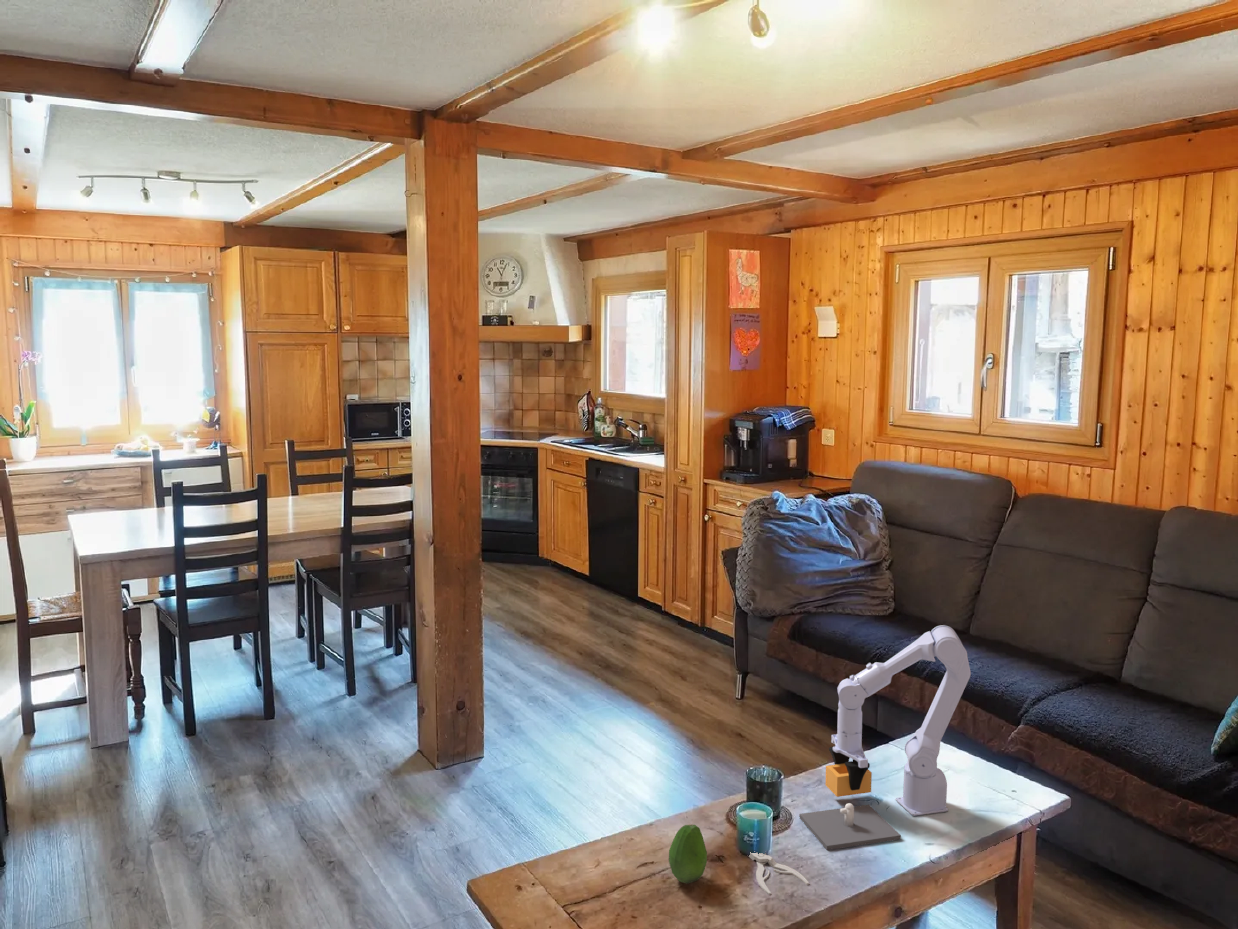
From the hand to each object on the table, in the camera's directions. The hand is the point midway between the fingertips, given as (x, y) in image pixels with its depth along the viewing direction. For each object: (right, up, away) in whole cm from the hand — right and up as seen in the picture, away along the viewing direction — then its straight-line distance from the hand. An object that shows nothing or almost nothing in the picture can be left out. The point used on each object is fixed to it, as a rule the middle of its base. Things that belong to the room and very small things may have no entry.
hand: (848, 783), depth 216 cm
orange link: (0, -2, 0) cm, 2 cm away
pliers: (-24, -9, -28) cm, 38 cm away
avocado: (-42, -9, -32) cm, 53 cm away
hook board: (-3, -6, -12) cm, 14 cm away
